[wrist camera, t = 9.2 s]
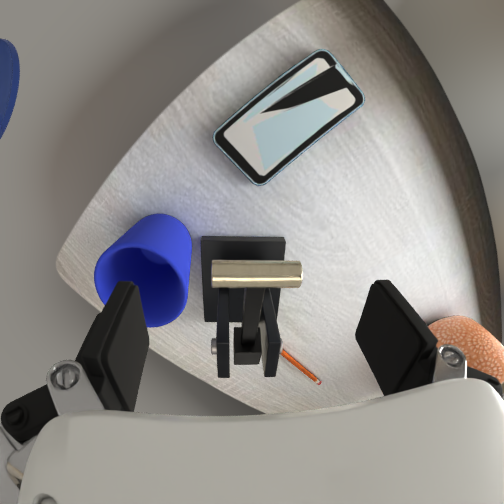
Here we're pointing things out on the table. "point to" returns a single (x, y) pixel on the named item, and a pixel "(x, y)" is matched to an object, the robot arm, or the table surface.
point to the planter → (472, 344)
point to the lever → (253, 296)
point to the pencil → (300, 367)
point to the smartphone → (288, 116)
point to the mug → (150, 267)
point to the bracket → (241, 297)
